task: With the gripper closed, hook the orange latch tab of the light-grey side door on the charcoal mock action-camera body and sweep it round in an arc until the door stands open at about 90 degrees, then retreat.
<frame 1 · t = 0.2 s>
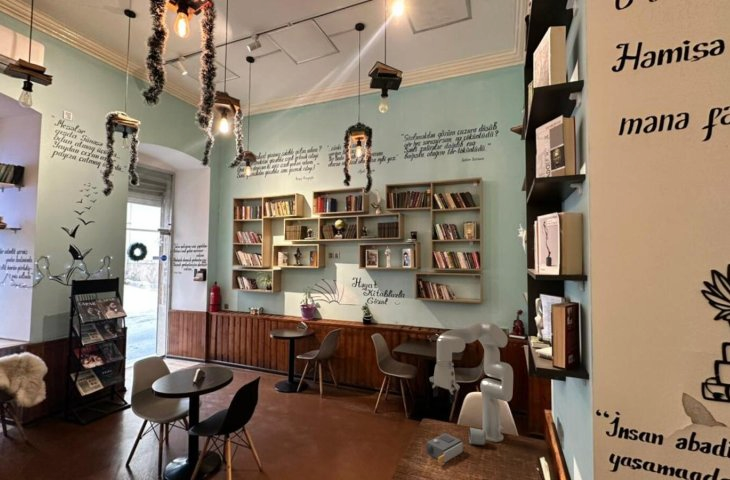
hand: (443, 399, 162), 30 cm above the table, fingers open, 9 cm apart
ceramic mug: (476, 442, 182), on the table
side door: (450, 453, 165), point 3 cm above the table, hinge at 0.0°
camera body: (444, 452, 170), on the table
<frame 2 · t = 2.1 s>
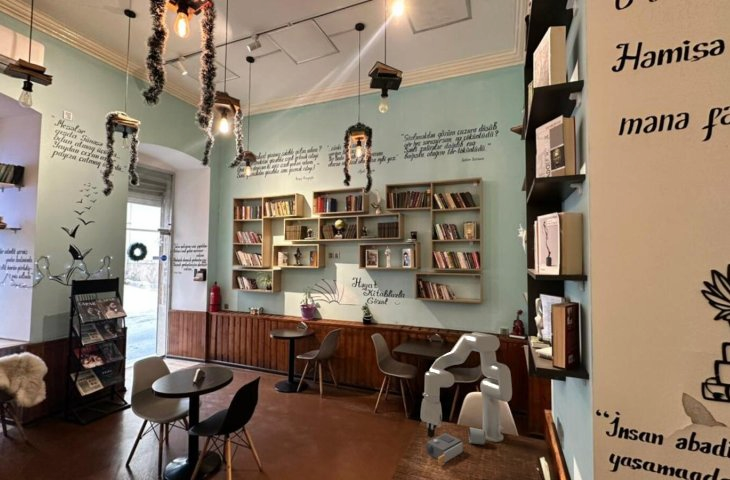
hand: (431, 436, 164), 11 cm above the table, fingers closed
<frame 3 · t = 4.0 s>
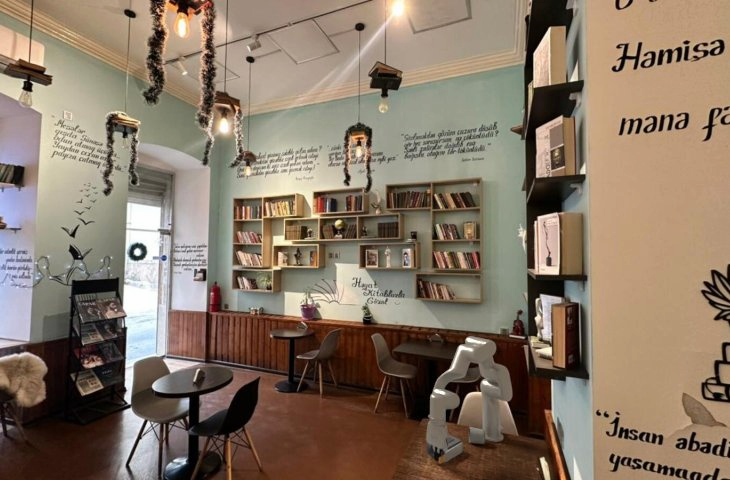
hand: (437, 459, 161), 1 cm above the table, fingers closed
side door: (451, 453, 165), point 3 cm above the table, hinge at 1.4°, touching gripper
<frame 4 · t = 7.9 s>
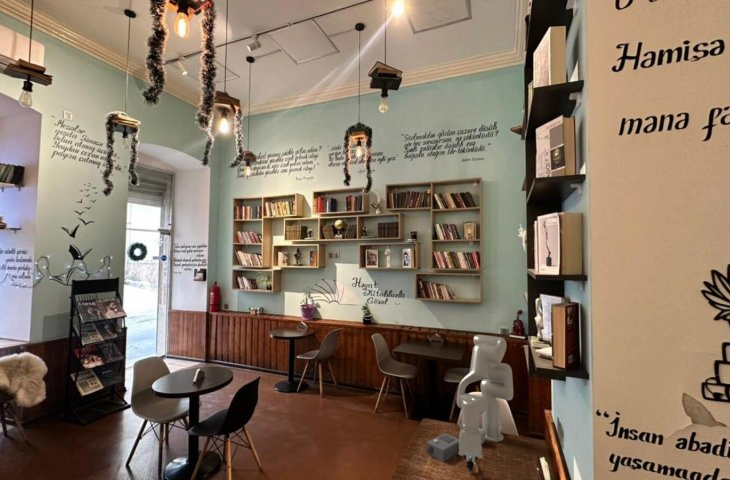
hand: (470, 469, 153), 1 cm above the table, fingers closed
side door: (468, 457, 162), point 3 cm above the table, hinge at 52.4°, touching gripper
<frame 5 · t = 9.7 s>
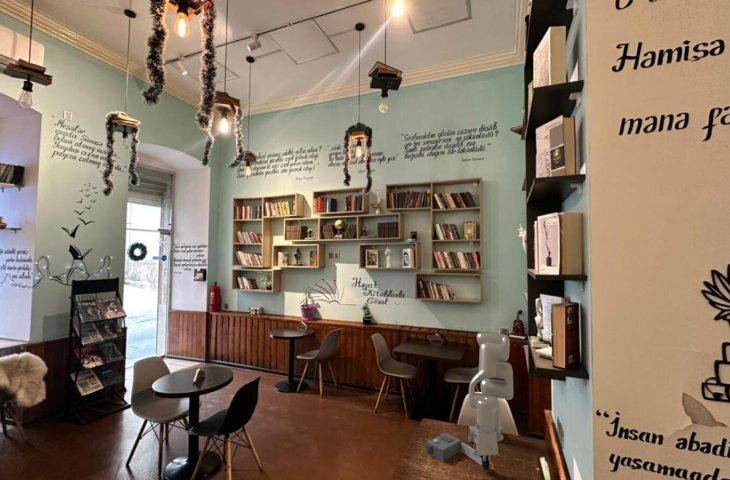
hand: (485, 468, 154), 1 cm above the table, fingers closed
side door: (476, 456, 163), point 3 cm above the table, hinge at 76.8°, touching gripper
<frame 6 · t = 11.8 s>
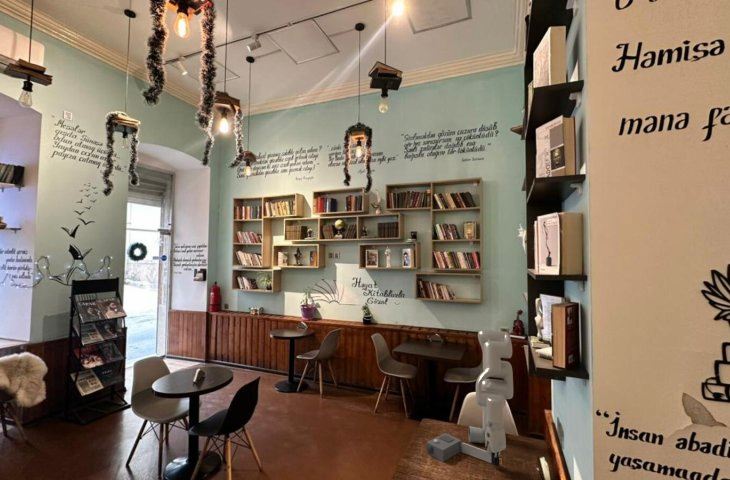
hand: (495, 464, 158), 1 cm above the table, fingers closed
side door: (480, 453, 165), point 3 cm above the table, hinge at 99.0°, touching gripper
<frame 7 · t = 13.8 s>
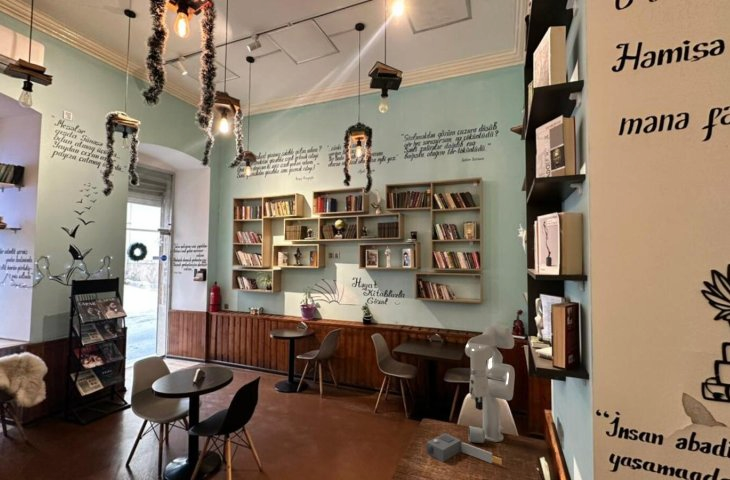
hand: (479, 408, 169), 23 cm above the table, fingers closed
side door: (480, 453, 165), point 3 cm above the table, hinge at 99.0°
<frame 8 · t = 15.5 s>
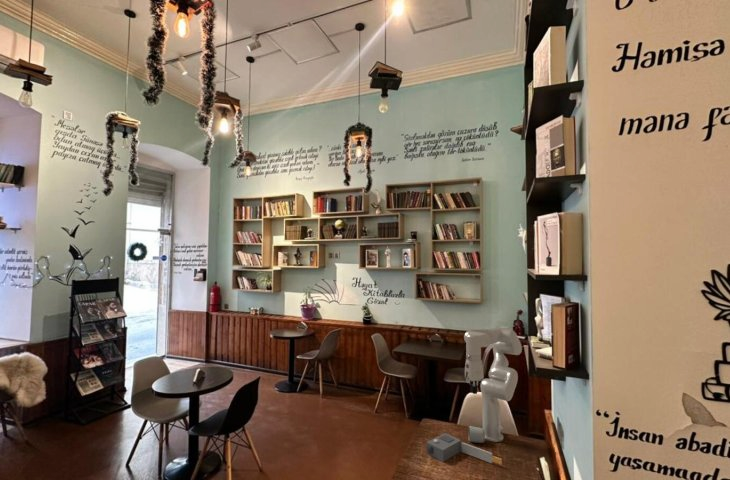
hand: (473, 392, 176), 29 cm above the table, fingers closed
at the end: side door at +99° (first picture: +0°) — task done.
